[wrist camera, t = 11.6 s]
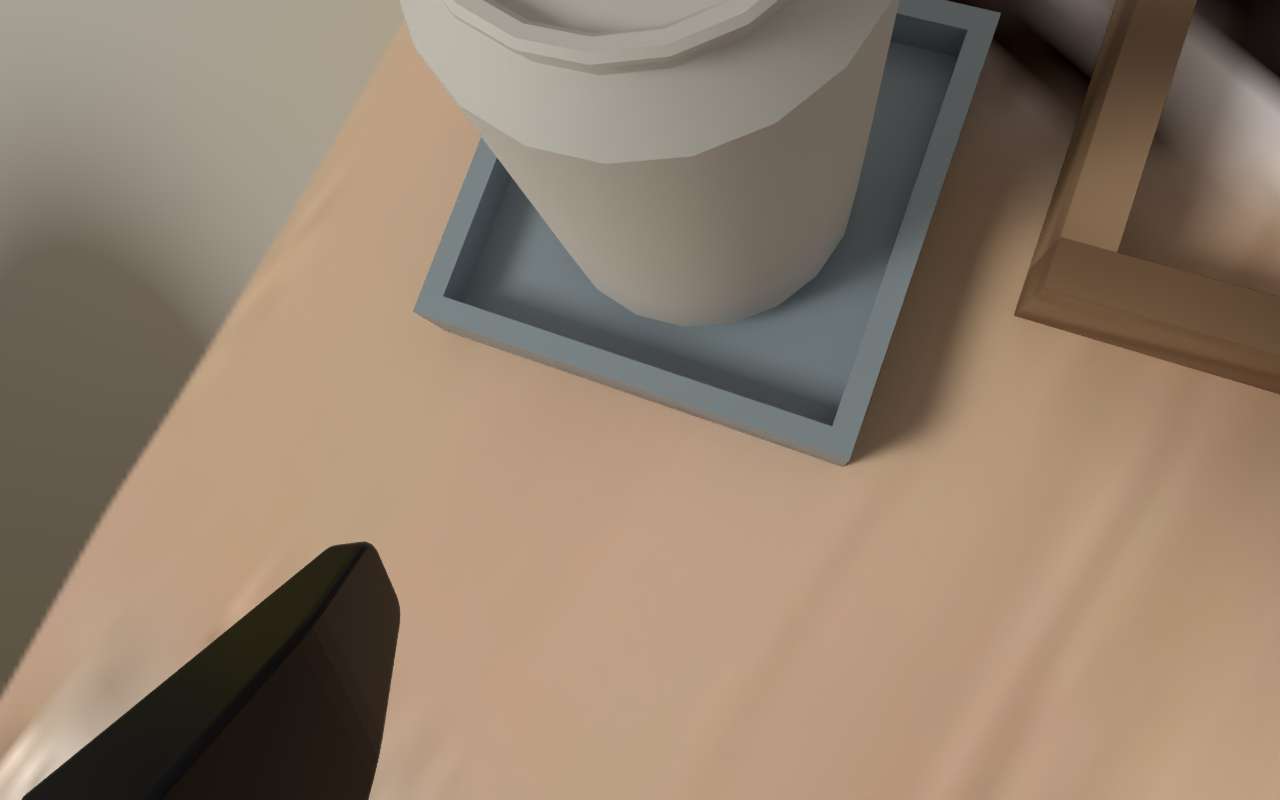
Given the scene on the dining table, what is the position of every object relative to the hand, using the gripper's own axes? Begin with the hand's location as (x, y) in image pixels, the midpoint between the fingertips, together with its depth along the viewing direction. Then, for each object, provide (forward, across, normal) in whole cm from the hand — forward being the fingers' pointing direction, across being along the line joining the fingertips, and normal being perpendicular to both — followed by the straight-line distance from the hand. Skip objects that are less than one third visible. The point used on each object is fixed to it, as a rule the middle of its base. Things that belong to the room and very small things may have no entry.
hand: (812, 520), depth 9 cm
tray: (+16, +1, +2) cm, 16 cm away
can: (+15, +1, +2) cm, 15 cm away
